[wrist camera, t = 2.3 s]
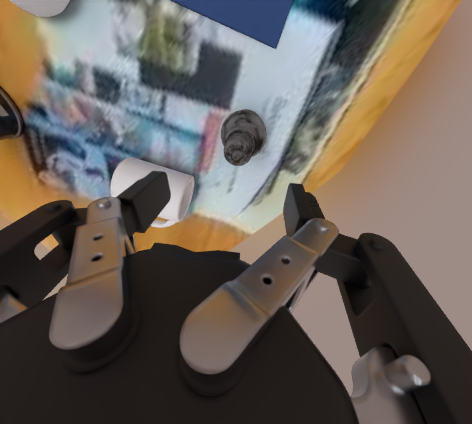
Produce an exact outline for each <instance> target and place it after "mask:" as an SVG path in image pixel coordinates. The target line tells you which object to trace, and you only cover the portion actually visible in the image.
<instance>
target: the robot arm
mask: <svg viewBox="0 0 472 424" xmlns="http://www.w3.org/2000/svg"><path fill="white" fill-rule="evenodd" d="M22 132H23V121H22V118H21V115H20V113H19V111H18V109H17V108H16V106H15V104H14V103H13V102H12V100H11V99H10V98H9V97H8V95H7V94H6V93H5V92H4V91H3V90H2V89H1V88H0V140H4V139H12V138H17V137H19V136H20V135H21V134H22ZM170 198H171V192H170V187H169V182H168V177H167V174H166V172H163V171H152V172H150V173H149V174H148V175H147V176H145V177H144V178H142V179H140V180H137V181H136V182H135V183H134V184H133V185H131V186H130V187H128V188H127V189H126V190H125V191H123V192H122V193H121V194H119V195H118V196H117V197H105V198H101V199H98V200H95V201H93V202H92V203H90V204H89V205H88V208H78V209H75V207H74V206H73V204H72V202H71V201H68V200H59V201H54V202H50V203H47V204H45V205H43V206H41V207H39V208H37V209H36V210H34V211H32V212H31V213H29V214H27V215H26V216H24V217H22V218H21V219H19V220H17V221H16V222H14V223H12V224H11V225H9V226H7V227H5V228H4V229H2V230H0V424H472V351H471V350H470V348H469V347H468V345H467V344H466V343H465V341H464V340H463V339H462V337H461V336H460V334H459V333H458V332H457V330H456V329H455V328H454V326H453V325H452V323H451V322H450V321H449V319H448V318H447V317H446V315H445V314H444V312H443V311H442V310H441V308H440V307H439V306H438V304H437V303H436V301H435V300H434V299H433V297H432V296H431V295H430V293H429V292H428V290H427V289H426V288H425V286H424V285H423V284H422V282H421V281H420V280H419V278H418V277H417V275H416V274H415V273H414V271H413V270H412V268H411V267H410V266H409V264H408V263H407V262H406V260H405V259H404V257H403V256H402V255H401V253H400V252H399V251H398V249H397V248H396V247H395V245H394V244H392V242H390V241H389V240H387V239H386V238H384V237H382V236H380V235H376V234H373V233H363V234H361V235H360V236H359V238H358V239H354V238H351V237H348V236H345V235H342V234H340V233H339V230H338V228H337V227H336V225H334V224H333V223H332V222H330V221H328V220H325V218H324V215H323V213H322V211H321V209H320V208H319V204H318V202H317V200H316V198H315V197H314V196H313V195H312V194H311V193H308V192H305V190H304V187H303V185H302V184H295V183H290V184H289V186H288V190H287V194H286V198H285V203H284V209H283V214H284V220H285V227H286V233H287V235H286V236H283V237H282V238H281V239H280V240H279V241H278V242H277V243H276V244H274V245H273V246H272V247H271V248H270V249H269V250H268V251H266V252H265V253H264V254H263V255H262V256H261V257H260V258H259V259H257V260H256V261H255V262H254V263H253V264H252V265H250V264H248V263H246V262H244V261H242V260H240V253H236V252H228V251H219V250H217V251H205V252H193V251H190V250H187V249H185V248H182V247H179V246H176V245H170V244H162V243H154V245H153V246H152V248H151V249H148V250H142V251H138V252H137V248H136V243H135V238H134V235H133V234H134V232H139V233H145V231H146V230H147V229H148V228H149V226H150V225H151V224H152V223H153V221H154V220H155V219H156V218H157V216H158V215H159V214H160V213H161V211H162V210H163V209H164V207H165V206H166V205H167V204H168V202H169V201H170ZM50 234H52V235H53V237H54V238H55V239H56V240H57V242H58V243H59V245H58V246H56V247H55V248H54V249H53V250H52V251H50V252H49V253H48V254H47V255H46V256H45V257H43V258H42V259H41V260H39V259H38V258H37V257H36V255H35V254H34V249H35V247H36V245H37V244H38V243H40V242H41V241H42V240H44V239H45V238H46V237H48V236H49V235H50ZM319 272H320V273H323V274H325V275H328V276H330V277H333V278H336V279H337V282H338V286H339V289H340V292H341V296H342V299H343V302H344V305H345V309H346V312H347V315H348V319H349V322H350V325H351V329H352V332H353V335H354V338H355V342H356V345H357V348H358V351H359V355H360V358H359V359H358V360H357V361H355V363H354V364H353V367H352V380H353V392H352V395H351V397H350V396H349V394H348V392H347V390H346V388H345V386H344V385H343V383H342V381H341V380H340V378H339V377H338V375H337V374H336V372H335V371H334V370H333V369H332V367H331V366H330V364H329V363H328V362H327V361H326V359H325V358H324V356H323V355H322V354H321V352H320V351H319V350H318V349H317V347H316V346H315V345H314V344H313V342H312V341H311V339H310V338H309V337H308V335H307V334H306V333H305V331H304V330H303V329H302V327H301V326H300V325H299V323H298V322H297V321H296V319H295V318H294V317H293V315H292V312H293V310H294V309H295V307H296V306H297V304H298V303H299V301H300V299H301V297H302V296H303V294H304V293H305V292H306V290H307V289H308V287H309V286H310V284H311V283H312V282H313V280H314V279H315V277H316V276H317V274H318V273H319ZM67 274H68V277H67V282H66V285H65V286H64V287H62V288H60V290H59V291H58V293H56V294H54V295H52V296H50V297H48V298H46V299H45V300H43V299H44V298H45V297H46V296H47V295H48V294H49V293H50V292H51V291H52V290H53V289H54V287H55V286H56V285H57V284H58V283H59V282H60V281H61V280H62V279H63V278H64V277H65V276H66V275H67ZM42 300H43V301H42Z"/></svg>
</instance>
